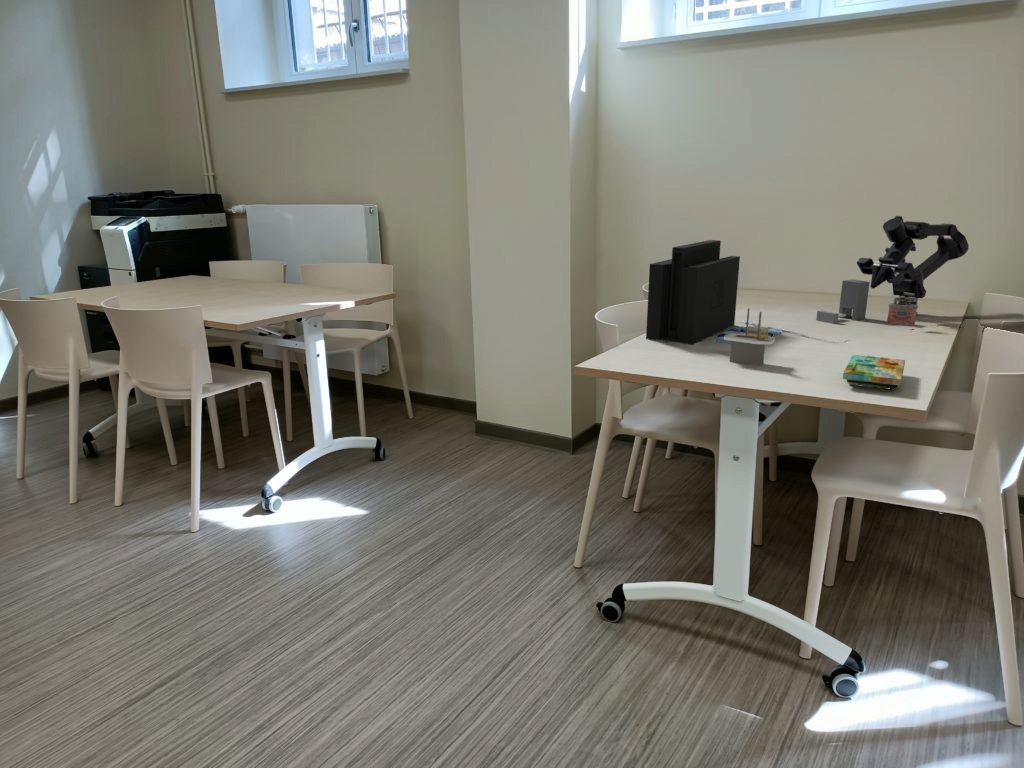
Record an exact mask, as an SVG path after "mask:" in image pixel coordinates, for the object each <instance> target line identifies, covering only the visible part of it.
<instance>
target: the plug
mask: <svg viewBox="0 0 1024 768" xmlns="http://www.w3.org/2000/svg"><path fill="white" fill-rule="evenodd" d="M841 281H842V283H841V284H842V285H841V290H840V300H839V308H838V313H843V314H846V316H844V317H838V319H839V318H840V319H842V318H850V317H851V321H860V320H865V319H866V315H867V314H866V313H867V306H868V305H867V304H868V299H869V291H870V290H869V289H870V285H871V281H866V280H860V279H859V280H857V279H845V280H841Z"/></svg>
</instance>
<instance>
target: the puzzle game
mask: <svg viewBox="0 0 1024 768" xmlns="http://www.w3.org/2000/svg"><path fill="white" fill-rule="evenodd" d="M905 365H906V360H905V359H901V358H899V359H898V358H890V357H882V356H881V357H879V356H875V355H874V356H872V355H871V356H870V355H859V354H852V355H851V357H850V359H849V361H848V363H847V365H846V367H845V370H844V371H843V375H842V379H843V380H845V381H846V382H847V384H848V385H849V384H854V385H853V386H856V385H862V386H861V387H864V386H870V387H869V388H872V387H880V388H879V389H881V388H890V389H894V390H896V389H897V388H898V387H899V386H901V384H902V380H903V379H902V378H903V375H904V370H905Z"/></svg>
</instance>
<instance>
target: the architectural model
mask: <svg viewBox="0 0 1024 768" xmlns="http://www.w3.org/2000/svg"><path fill="white" fill-rule="evenodd" d="M758 313H759V315H758V324H757V326H749V320H750V319H749V317H750V307H749V308H747V313H746V323H745V325H746V326H745V327H746V334H734V333H732V334H728V335H726V336H724V340H730V341H731V343H730V352H729V353H730V354H729V362H731V363H736V364H737V363H738V364H739V363H740V364H746V365H755V366H761V365H763V366H764V358H765V347H766V345H771V344H774V342H775V340H776V339H775V336H773V337H768V329H770V328H769V327H768V326H767V327H761V323H762V314H763V313H762V311H759V312H758ZM748 327H750V329H751V333H752V334H749V330H748ZM752 327H753V328H755V332H756V335H754V334H753V330H752ZM756 328H758V333H757V330H756ZM760 328H762V329H763V330H761V329H760ZM764 329H765V330H764ZM766 330H767V336H766ZM761 331H762V333H763V335H764V336H762V333H761Z"/></svg>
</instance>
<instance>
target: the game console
mask: <svg viewBox="0 0 1024 768" xmlns="http://www.w3.org/2000/svg"><path fill="white" fill-rule="evenodd" d="M721 242H722V240H714V239H708V240H704V241H698V242H692V243H687V244H682V245H677V246H673V247H672V251H671V258H670V259H666V260H662V261H657V262H656V261H655V262H653V263H649V267H648V268H649V270H648V271H649V274H648V290H647V291H648V292H647V293H648V294H647V309H646V310H647V311H646V312H647V313H646V330H645V331H646V332H645V333H646V334H645V339H646V340H653V341H663V342H664V341H665V342H672V343H679V344H683V345H689V346H690V345H691V346H694V345H695V344H698V343H700V342H701V341H704V340H706V339H708V338H711V337H713V336H714V335H717V334H718V335H717V338H715V342H719V343H724V342H726V343H725V344H731V341H730V340H724V336H726V335H728V334H732V333H734V334H746V326H740V327H737V326H736V327H734V328H732V327H733V326H735V325H736V324H735V321H736V311H737V310H736V308H737V299H738V298H737V295H738V285H739V272H740V271H739V270H740V261H741V260H740V259H741V256H740V255H737V256H736V255H730V256H726V257H722V258H720V256H721V244H722V243H721ZM751 327H752V330H753V334H754V335H756V332H755V328H753V327H754V326H751ZM729 328H730V329H729ZM727 329H728V330H727ZM760 329H761V330H763V327H761V328H760ZM725 330H726V331H725ZM748 330H749V334H752V333H751V329H750V327H748ZM756 330H757V333H758V328H756ZM764 330H765V329H764ZM723 331H724V332H723ZM721 332H722V333H721ZM761 333H762V331H761ZM780 333H781V334H782V331H781V330H778V329H770V328H769V329H768V337H772V336H773V335H777V334H779V335H780ZM762 336H764V335H763V333H762ZM766 336H767V330H766ZM773 337H774V336H773Z"/></svg>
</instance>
